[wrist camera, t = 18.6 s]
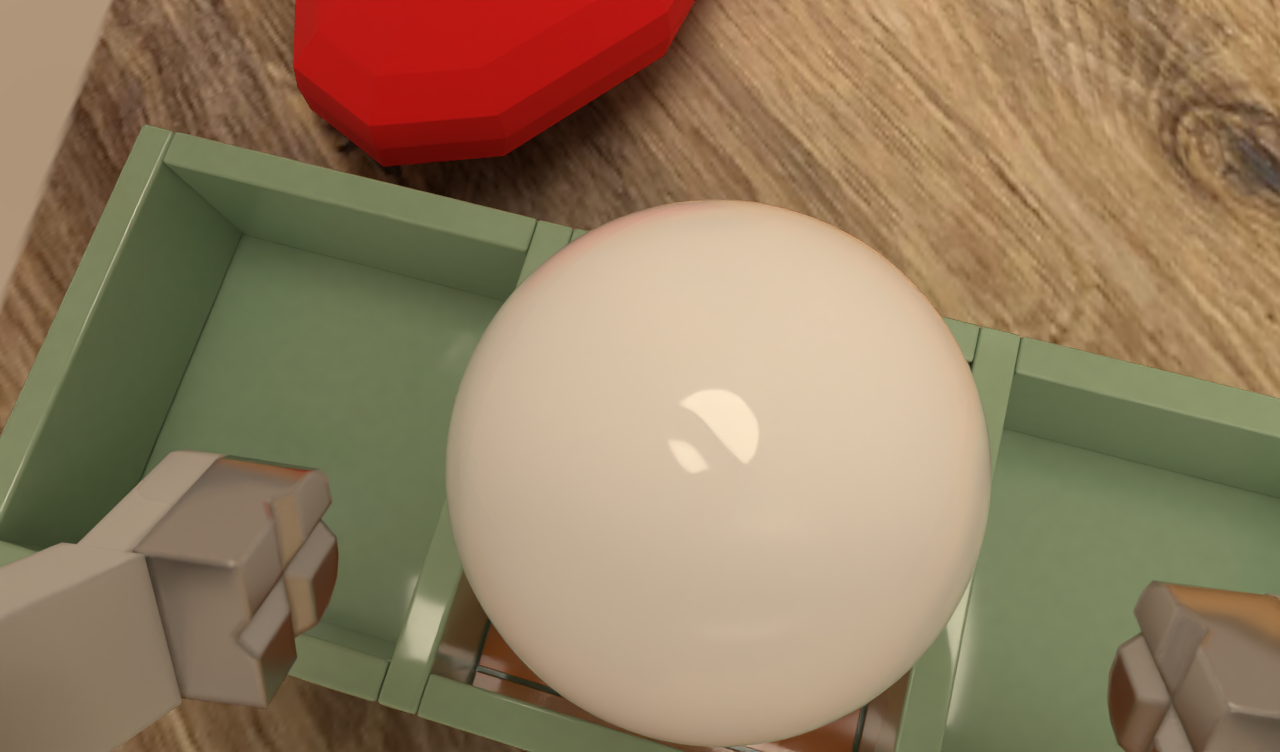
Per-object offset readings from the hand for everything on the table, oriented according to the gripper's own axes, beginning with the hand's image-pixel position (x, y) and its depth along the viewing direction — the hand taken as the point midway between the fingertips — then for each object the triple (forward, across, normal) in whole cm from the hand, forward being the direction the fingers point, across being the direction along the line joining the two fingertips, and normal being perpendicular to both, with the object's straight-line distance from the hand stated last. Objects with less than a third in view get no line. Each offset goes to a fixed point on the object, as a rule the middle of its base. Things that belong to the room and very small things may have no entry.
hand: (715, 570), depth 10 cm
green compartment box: (+8, 0, +6) cm, 10 cm away
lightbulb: (+8, 0, +6) cm, 10 cm away
